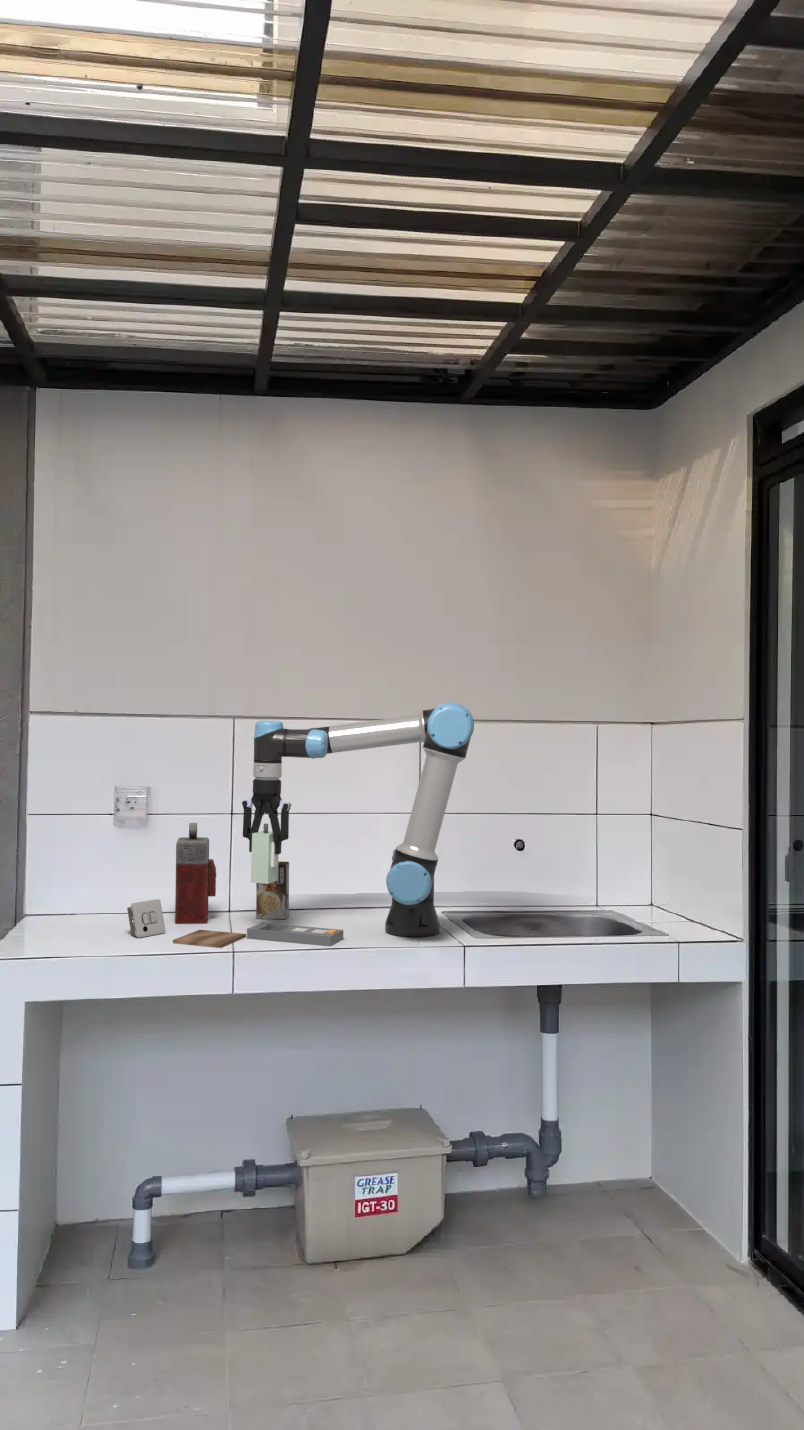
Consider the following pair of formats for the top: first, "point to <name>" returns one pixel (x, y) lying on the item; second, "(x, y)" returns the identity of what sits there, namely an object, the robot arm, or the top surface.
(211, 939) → the walnut pad
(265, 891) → the coffee box
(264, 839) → the pale green block
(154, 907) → the electrical switch
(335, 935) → the power strip
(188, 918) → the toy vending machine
